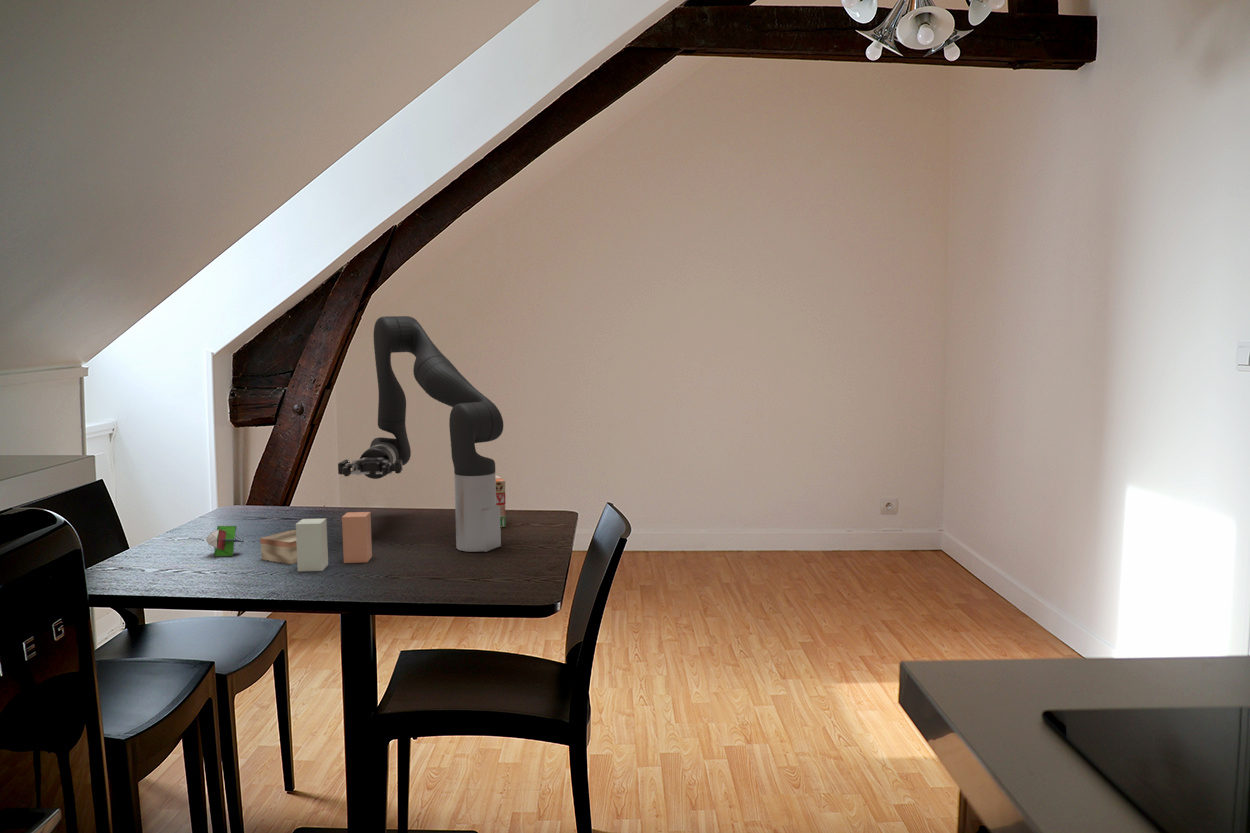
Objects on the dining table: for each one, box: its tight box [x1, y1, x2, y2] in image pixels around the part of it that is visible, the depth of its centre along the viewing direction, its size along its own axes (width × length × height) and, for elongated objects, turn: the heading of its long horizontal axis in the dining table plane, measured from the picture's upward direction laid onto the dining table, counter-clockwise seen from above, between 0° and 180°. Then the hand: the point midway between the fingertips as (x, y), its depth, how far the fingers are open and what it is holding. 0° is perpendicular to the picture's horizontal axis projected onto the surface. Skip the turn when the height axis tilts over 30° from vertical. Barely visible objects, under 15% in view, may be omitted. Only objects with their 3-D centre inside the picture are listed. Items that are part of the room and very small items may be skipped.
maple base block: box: [259, 529, 297, 565], centre depth 201 cm, size 9×9×5 cm
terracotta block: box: [341, 511, 373, 564], centre depth 198 cm, size 5×5×10 cm
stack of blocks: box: [496, 475, 507, 528], centre depth 237 cm, size 21×6×12 cm, turn 22°
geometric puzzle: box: [205, 525, 245, 557], centre depth 204 cm, size 7×7×8 cm
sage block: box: [295, 518, 329, 572], centre depth 192 cm, size 5×5×10 cm
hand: (364, 471), depth 208 cm, fingers open, 8 cm apart
